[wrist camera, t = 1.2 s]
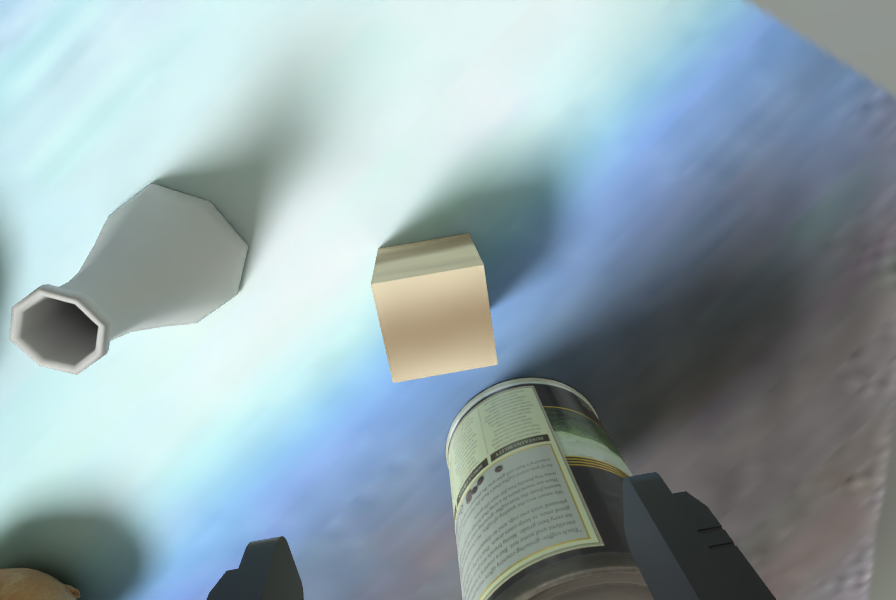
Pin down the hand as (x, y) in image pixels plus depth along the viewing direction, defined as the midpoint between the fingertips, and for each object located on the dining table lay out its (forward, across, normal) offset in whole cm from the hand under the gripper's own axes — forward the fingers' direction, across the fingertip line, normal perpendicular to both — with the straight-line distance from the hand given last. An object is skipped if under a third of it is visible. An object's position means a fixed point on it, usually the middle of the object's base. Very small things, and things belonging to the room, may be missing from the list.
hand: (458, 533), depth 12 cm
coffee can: (+18, -4, +12) cm, 22 cm away
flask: (+18, +13, -4) cm, 23 cm away
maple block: (+18, 0, 0) cm, 18 cm away
